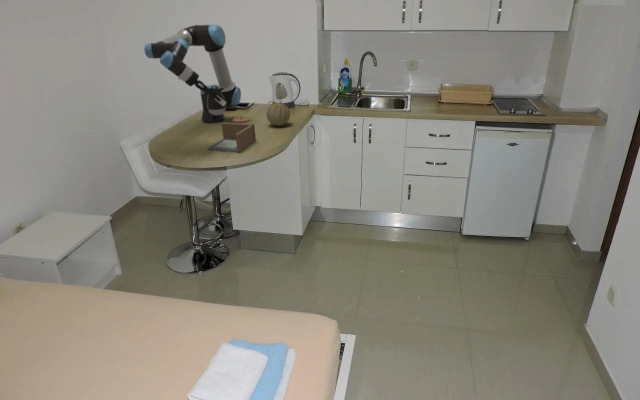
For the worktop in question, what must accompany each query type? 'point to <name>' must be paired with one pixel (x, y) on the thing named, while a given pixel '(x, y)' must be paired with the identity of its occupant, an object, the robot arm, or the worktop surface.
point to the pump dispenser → (215, 102)
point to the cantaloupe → (278, 114)
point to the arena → (235, 137)
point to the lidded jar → (241, 120)
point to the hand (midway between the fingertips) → (222, 102)
